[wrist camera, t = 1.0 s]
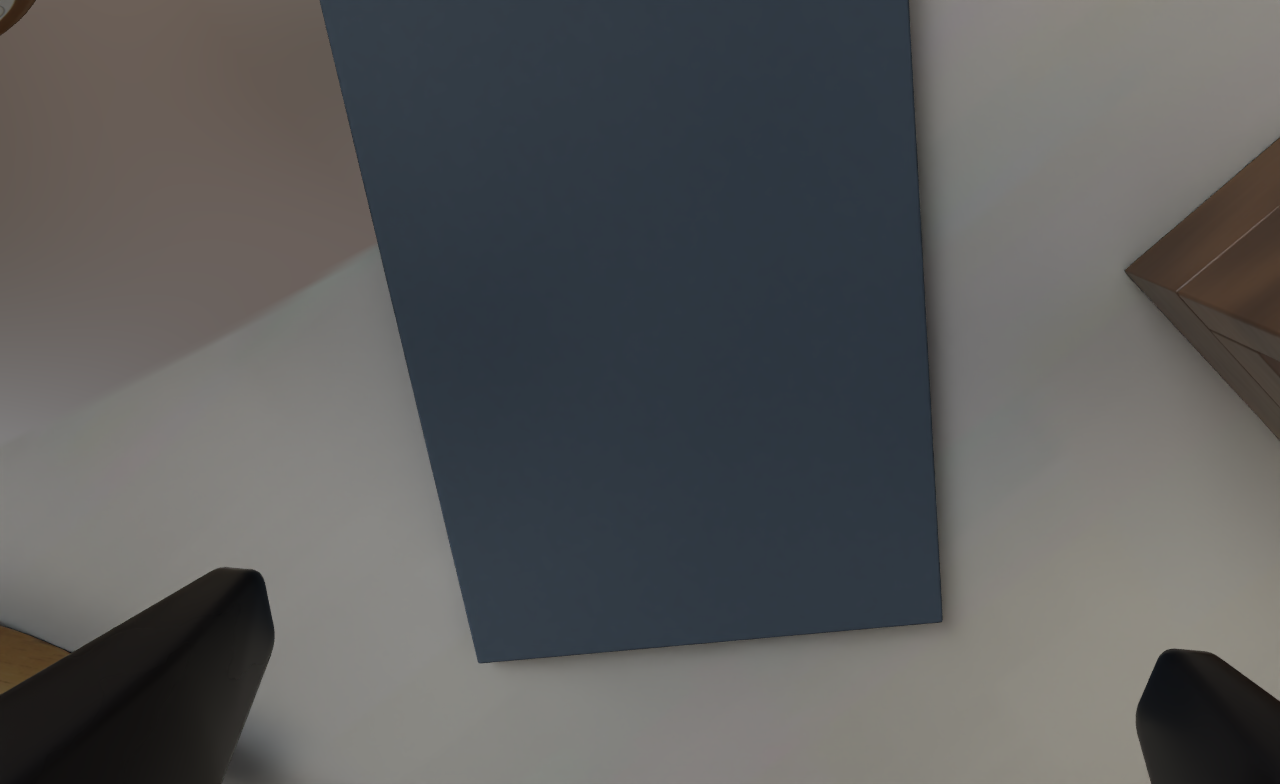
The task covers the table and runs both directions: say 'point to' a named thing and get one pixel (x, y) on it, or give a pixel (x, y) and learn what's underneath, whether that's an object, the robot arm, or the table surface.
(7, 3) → the tin
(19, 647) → the wooden carving
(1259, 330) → the brown wooden tray
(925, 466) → the mat
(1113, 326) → the table surface
